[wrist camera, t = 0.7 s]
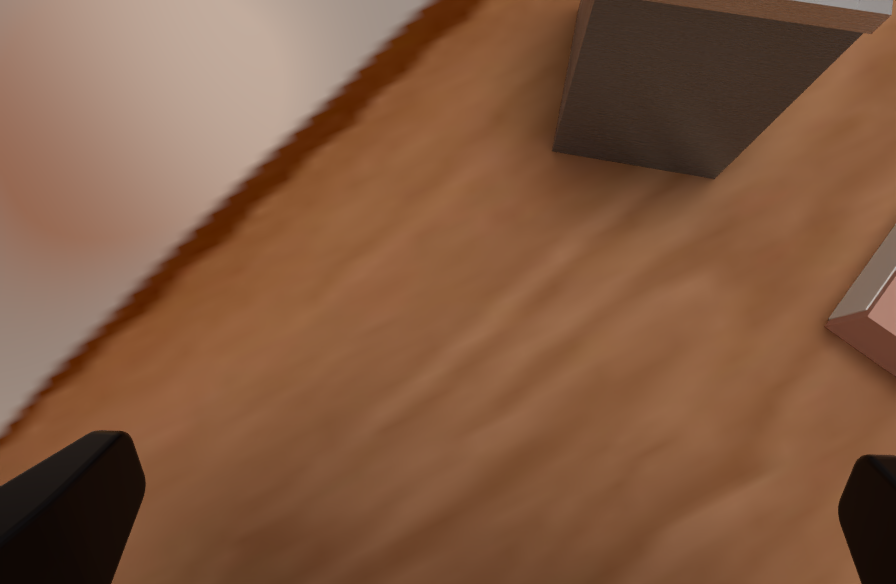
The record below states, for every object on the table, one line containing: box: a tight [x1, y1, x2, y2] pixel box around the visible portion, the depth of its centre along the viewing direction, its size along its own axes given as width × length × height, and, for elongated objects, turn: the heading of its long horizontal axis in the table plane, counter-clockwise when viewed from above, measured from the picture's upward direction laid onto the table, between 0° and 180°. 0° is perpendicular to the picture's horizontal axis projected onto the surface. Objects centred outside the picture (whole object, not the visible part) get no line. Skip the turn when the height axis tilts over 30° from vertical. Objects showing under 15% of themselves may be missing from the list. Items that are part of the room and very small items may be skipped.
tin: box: [552, 0, 893, 179], centre depth 19 cm, size 6×6×10 cm
